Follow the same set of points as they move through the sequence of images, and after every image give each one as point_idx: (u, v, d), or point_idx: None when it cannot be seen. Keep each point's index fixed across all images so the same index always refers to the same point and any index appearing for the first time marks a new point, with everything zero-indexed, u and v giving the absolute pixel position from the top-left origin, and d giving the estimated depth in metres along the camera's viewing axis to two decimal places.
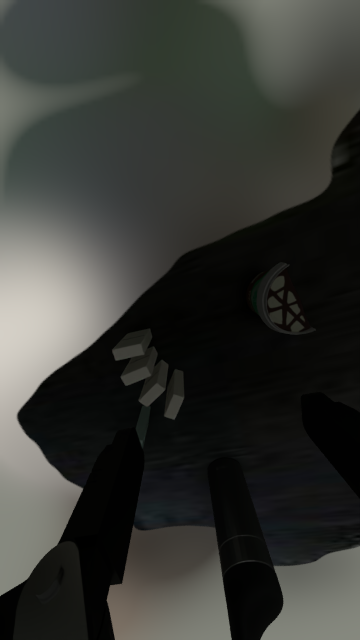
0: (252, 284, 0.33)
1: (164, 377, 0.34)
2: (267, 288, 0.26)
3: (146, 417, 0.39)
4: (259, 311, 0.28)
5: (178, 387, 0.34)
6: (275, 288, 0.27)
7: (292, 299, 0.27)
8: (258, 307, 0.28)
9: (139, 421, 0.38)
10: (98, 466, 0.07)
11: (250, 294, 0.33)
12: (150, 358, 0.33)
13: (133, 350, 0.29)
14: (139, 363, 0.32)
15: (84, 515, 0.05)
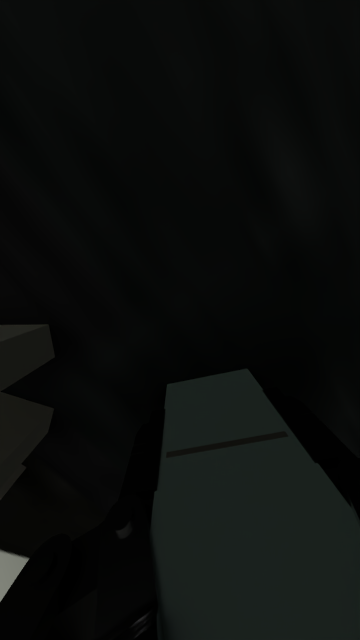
0: None
1: None
2: None
3: None
4: None
5: None
6: None
7: None
8: None
9: None
10: (139, 441, 0.08)
11: None
12: None
13: None
14: None
15: (140, 476, 0.06)
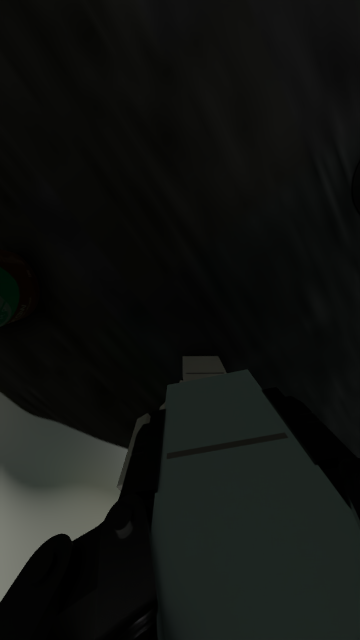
0: None
1: None
2: None
3: None
4: None
5: None
6: None
7: None
8: None
9: None
10: (139, 441, 0.08)
11: None
12: None
13: None
14: None
15: (140, 476, 0.06)
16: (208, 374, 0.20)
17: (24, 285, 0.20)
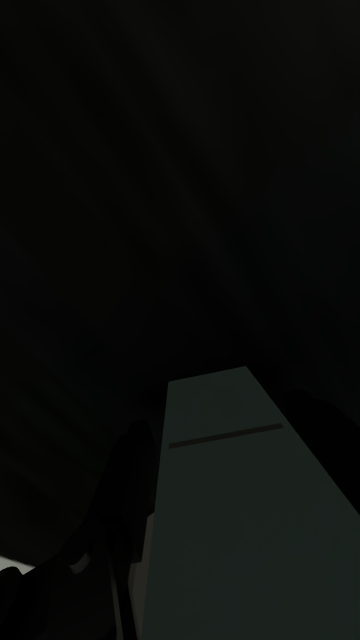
0: None
1: None
2: None
3: None
4: None
5: None
6: None
7: None
8: None
9: None
10: (114, 455, 0.07)
11: None
12: None
13: None
14: None
15: (106, 497, 0.05)
16: None
17: None
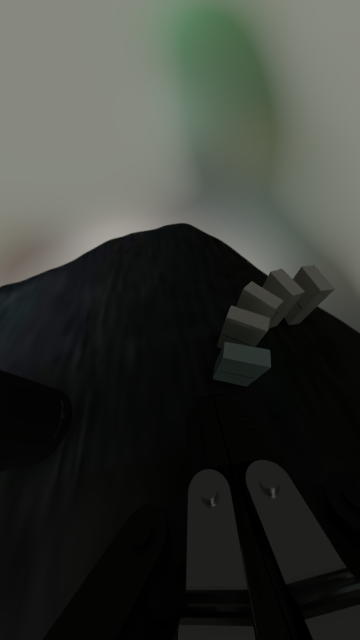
0: None
1: None
2: None
3: None
4: None
5: None
6: None
7: None
8: None
9: None
10: (192, 425, 0.08)
11: None
12: (290, 308, 0.27)
13: (321, 281, 0.25)
14: None
15: (208, 453, 0.06)
16: (235, 338, 0.25)
17: None
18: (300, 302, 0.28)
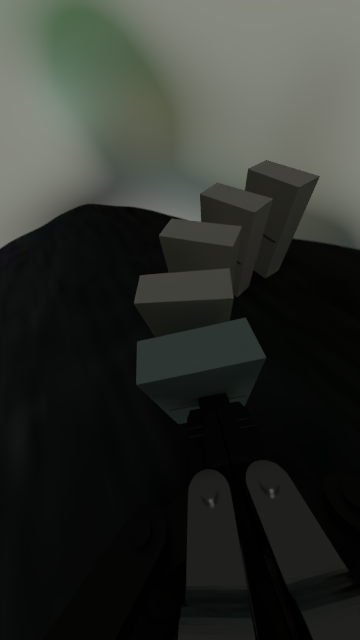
0: None
1: None
2: None
3: None
4: None
5: None
6: None
7: None
8: None
9: None
10: (192, 425, 0.08)
11: None
12: (258, 246, 0.15)
13: (292, 175, 0.13)
14: None
15: (208, 453, 0.06)
16: None
17: None
18: (269, 232, 0.16)
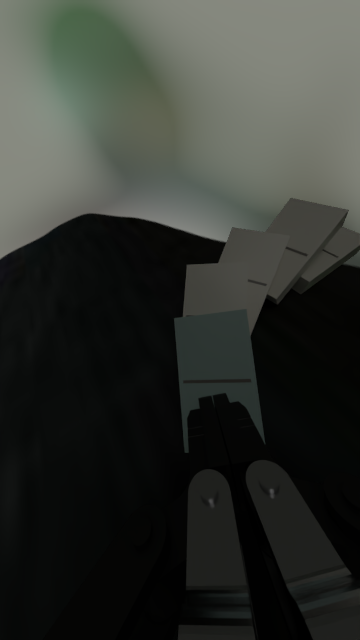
0: None
1: (274, 275, 0.15)
2: None
3: None
4: None
5: None
6: None
7: None
8: None
9: None
10: (192, 425, 0.08)
11: None
12: (315, 256, 0.16)
13: None
14: None
15: (208, 453, 0.06)
16: (208, 313, 0.14)
17: None
18: (332, 250, 0.18)
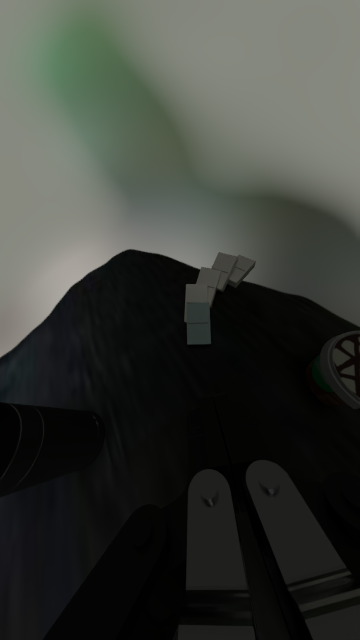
0: None
1: (217, 284, 0.42)
2: None
3: None
4: (327, 342, 0.27)
5: (207, 295, 0.41)
6: None
7: None
8: (330, 340, 0.27)
9: None
10: (192, 425, 0.08)
11: None
12: (232, 272, 0.45)
13: None
14: None
15: (208, 453, 0.06)
16: (194, 301, 0.41)
17: (311, 379, 0.30)
18: (243, 268, 0.46)
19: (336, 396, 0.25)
